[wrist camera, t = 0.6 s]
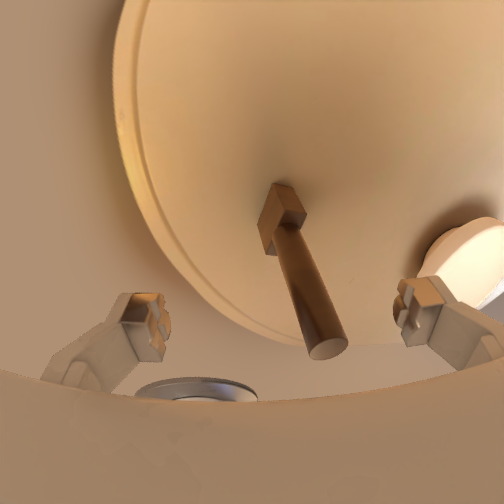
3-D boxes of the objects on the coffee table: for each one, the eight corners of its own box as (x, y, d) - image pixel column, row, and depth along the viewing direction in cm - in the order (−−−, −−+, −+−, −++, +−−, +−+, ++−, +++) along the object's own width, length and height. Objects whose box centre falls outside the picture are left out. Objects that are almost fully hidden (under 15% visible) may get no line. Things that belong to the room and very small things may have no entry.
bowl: (501, 224, 39) (526, 250, 33) (434, 303, 49) (452, 332, 43) (454, 172, 31) (490, 203, 26) (369, 282, 41) (390, 321, 36)
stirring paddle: (277, 228, 33) (327, 369, 20) (254, 224, 32) (295, 370, 19) (294, 187, 30) (366, 325, 17) (270, 182, 29) (330, 324, 16)
